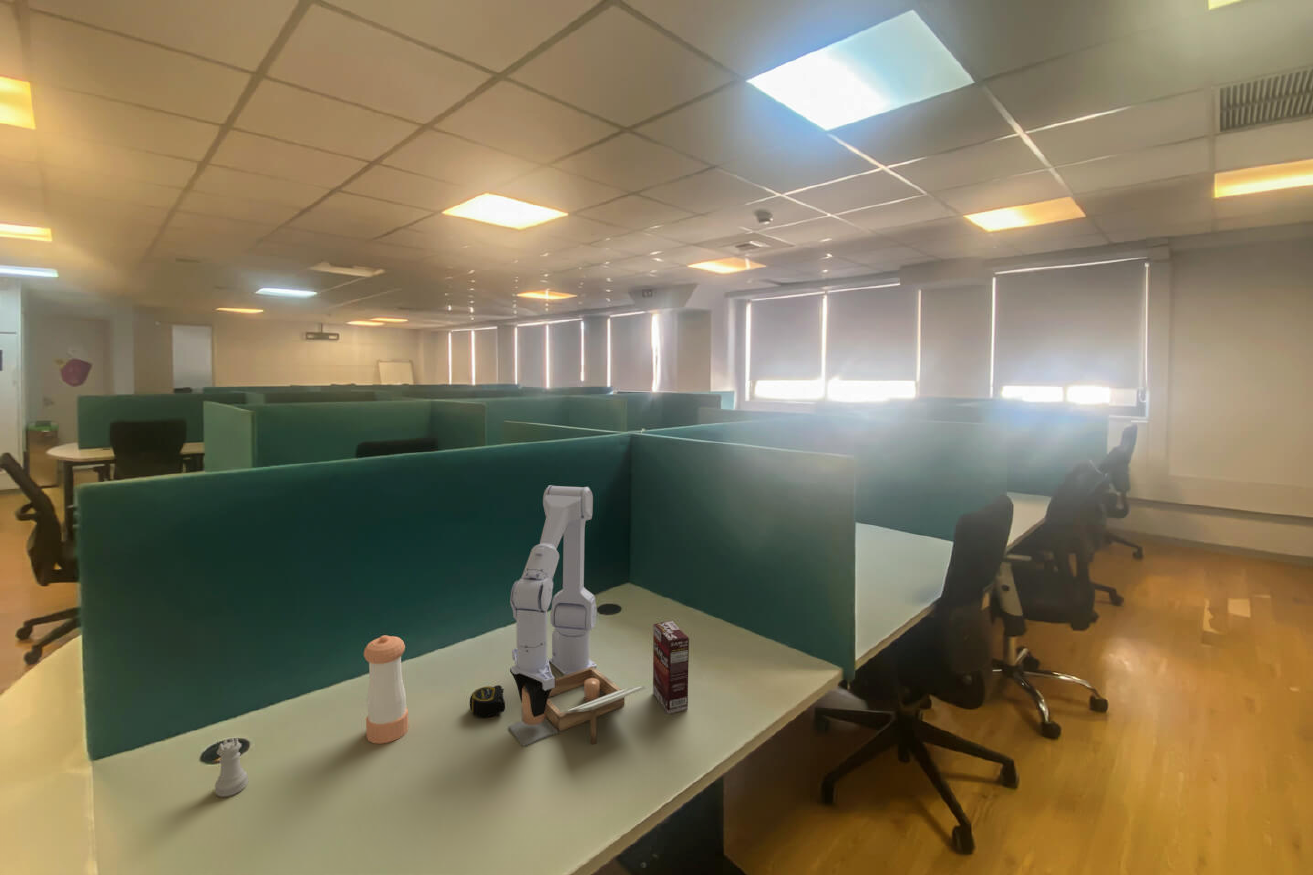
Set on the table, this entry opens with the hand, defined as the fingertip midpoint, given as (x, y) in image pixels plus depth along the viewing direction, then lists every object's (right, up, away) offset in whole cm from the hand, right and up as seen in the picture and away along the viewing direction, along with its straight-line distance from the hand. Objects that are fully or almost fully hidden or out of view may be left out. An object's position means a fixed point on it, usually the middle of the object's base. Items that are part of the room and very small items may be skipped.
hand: (532, 708), depth 109 cm
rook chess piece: (-46, -6, -16) cm, 49 cm away
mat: (0, -5, +1) cm, 4 cm away
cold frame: (+10, -4, +6) cm, 12 cm away
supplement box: (+27, -4, +11) cm, 29 cm away
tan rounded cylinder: (+10, -3, +12) cm, 16 cm away
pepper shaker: (-28, -4, 0) cm, 28 cm away
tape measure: (-10, -4, +8) cm, 13 cm away
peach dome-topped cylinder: (0, -2, 0) cm, 2 cm away
